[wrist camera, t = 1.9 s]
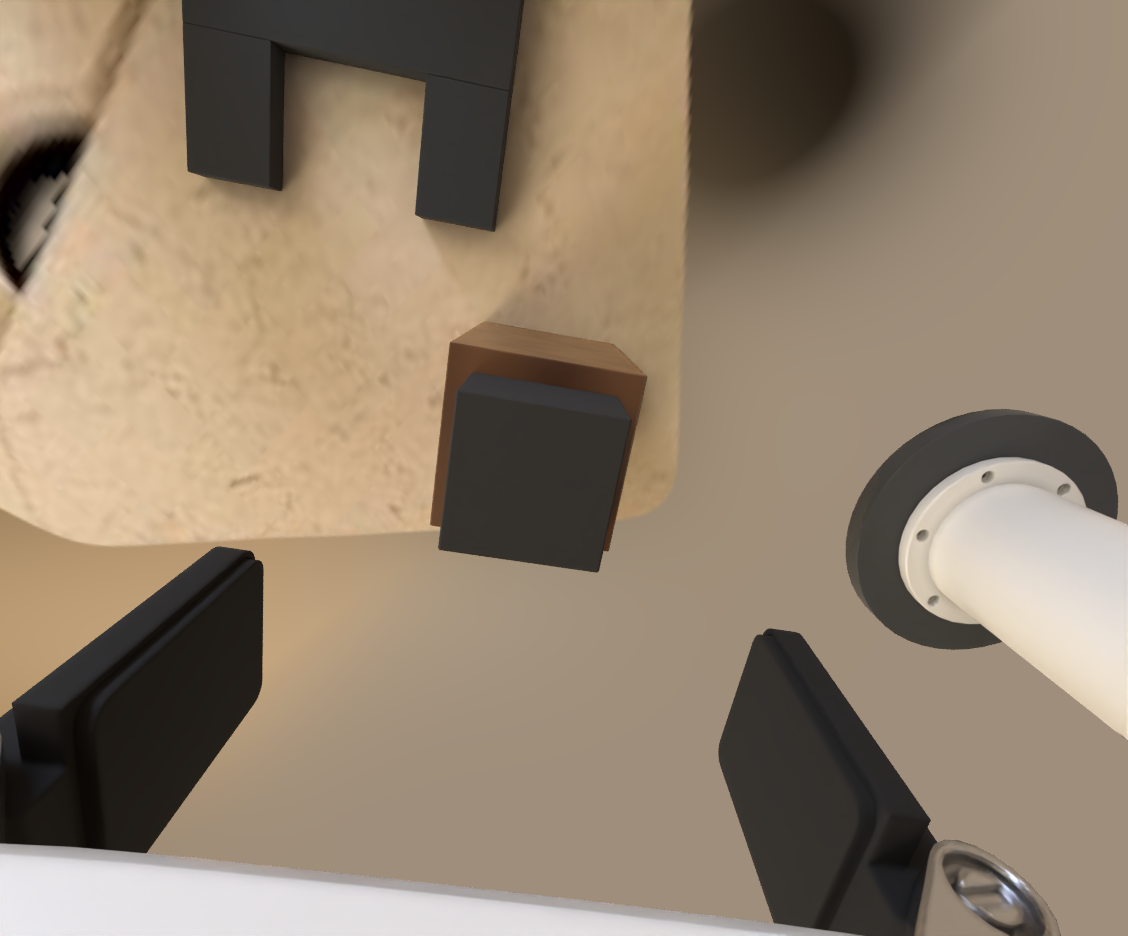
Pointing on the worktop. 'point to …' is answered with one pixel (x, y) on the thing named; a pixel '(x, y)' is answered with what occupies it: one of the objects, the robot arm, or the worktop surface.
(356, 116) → the worktop surface
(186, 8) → the black u-shaped block
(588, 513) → the black squat block
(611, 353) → the brown wooden block
